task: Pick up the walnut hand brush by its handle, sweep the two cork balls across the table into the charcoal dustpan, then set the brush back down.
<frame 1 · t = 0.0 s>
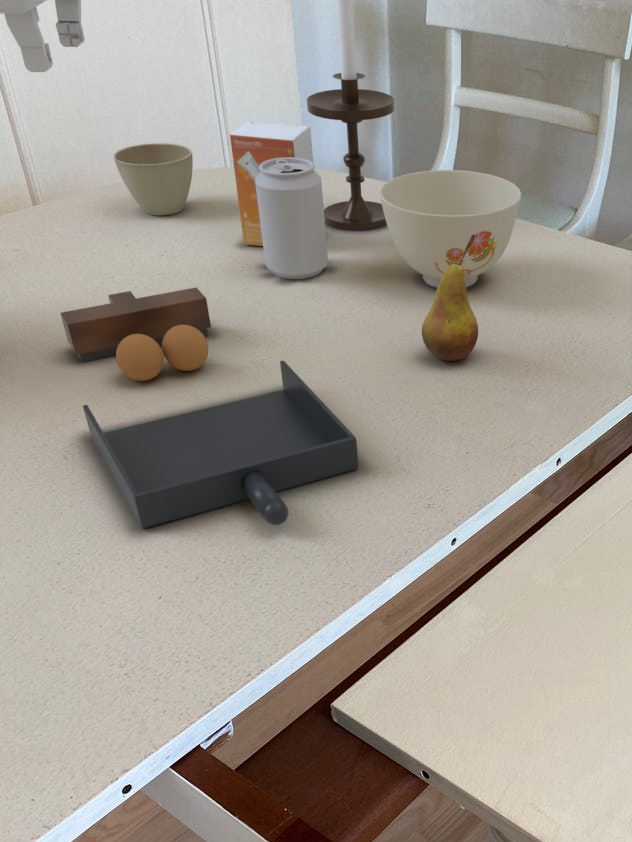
hand: (57, 57, 82), 27 cm above the table, tool pointing down, fingers open, 8 cm apart
fruit: (450, 358, 101), on the table
brush: (143, 344, 102), on the table
ball right: (185, 347, 96), point 2 cm above the table
dustpan: (221, 452, 86), on the table
candlestick: (357, 220, 131), on the table
bowl: (450, 281, 116), on the table
ball left: (140, 357, 95), point 2 cm above the table
small box: (282, 242, 125), on the table
flower pot: (163, 211, 132), on the table
can: (297, 271, 118), on the table
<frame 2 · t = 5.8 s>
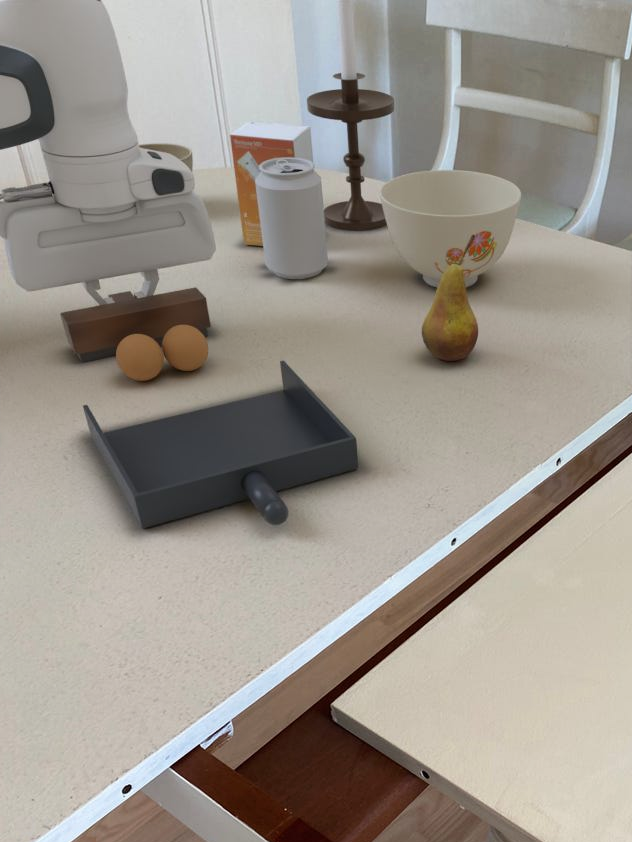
hand: (128, 314, 103), 2 cm above the table, tool pointing down, fingers closed on brush, 2 cm apart
brush: (142, 344, 102), on the table, touching gripper
everything else where it was.
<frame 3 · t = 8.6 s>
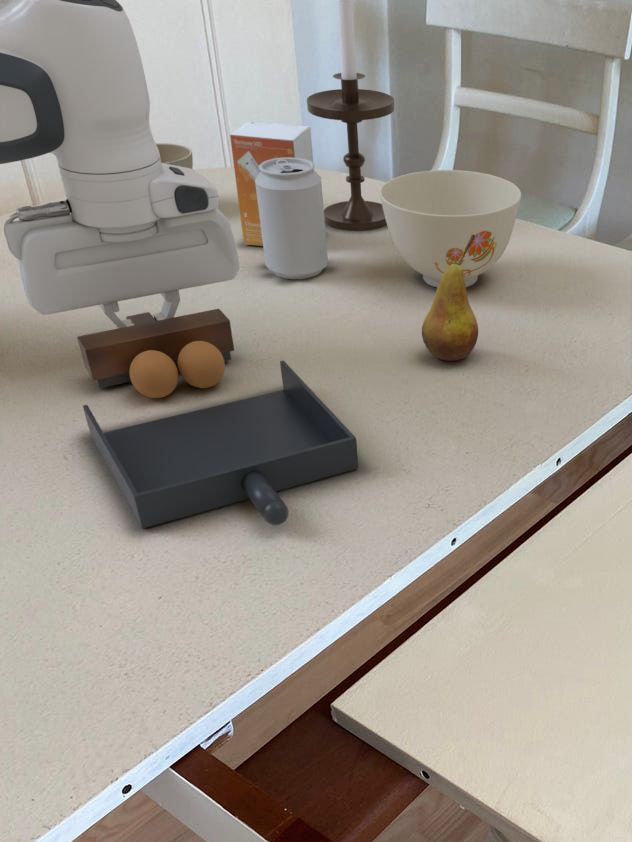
hand: (148, 336, 98), 2 cm above the table, tool pointing down, fingers closed on brush, 2 cm apart
brush: (163, 368, 97), on the table, touching gripper
ball right: (201, 364, 94), point 2 cm above the table, tilted 110°
ball left: (154, 374, 92), point 2 cm above the table, tilted 107°
everything else where it was.
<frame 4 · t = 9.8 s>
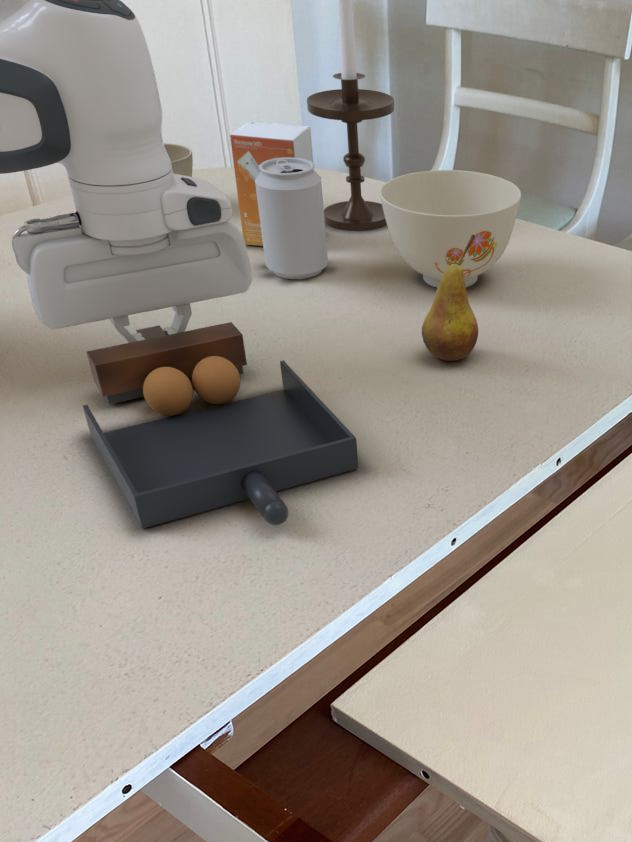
hand: (158, 350, 96), 2 cm above the table, tool pointing down, fingers closed on brush, 2 cm apart
brush: (174, 383, 95), on the table, touching gripper
ball right: (216, 380, 91), point 2 cm above the table, tilted 151°
ball left: (168, 391, 90), point 2 cm above the table, tilted 150°
everything else where it was.
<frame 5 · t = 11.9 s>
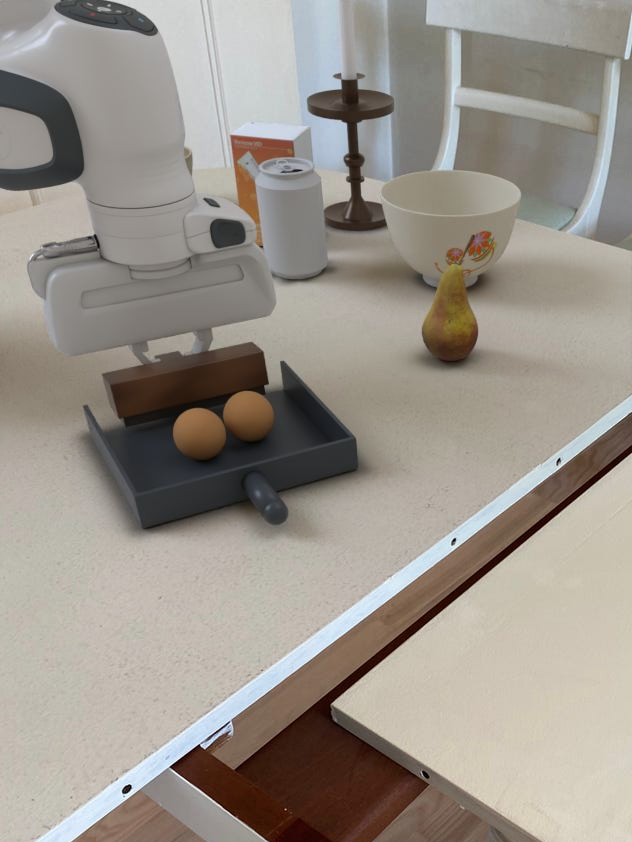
hand: (178, 376, 92), 2 cm above the table, tool pointing down, fingers closed on brush, 2 cm apart
brush: (193, 406, 90), point 1 cm above the table, tilted 6°, touching gripper
ball right: (248, 416, 86), point 2 cm above the table, tilted 64°, touching dustpan
ball left: (199, 434, 84), point 2 cm above the table, tilted 88°, touching dustpan
everything else where it was.
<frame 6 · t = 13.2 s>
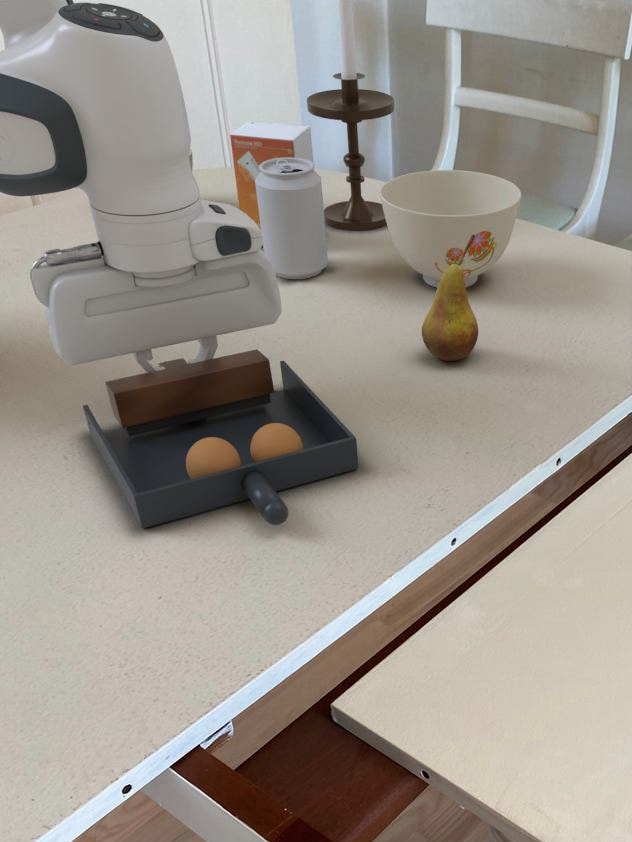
hand: (182, 384, 91), 2 cm above the table, tool pointing down, fingers closed on brush, 2 cm apart
brush: (198, 414, 89), point 1 cm above the table, tilted 6°, touching gripper
ball right: (276, 449, 82), point 2 cm above the table, tilted 129°, touching dustpan
ball left: (213, 464, 80), point 2 cm above the table, tilted 135°, touching dustpan
everything else where it was.
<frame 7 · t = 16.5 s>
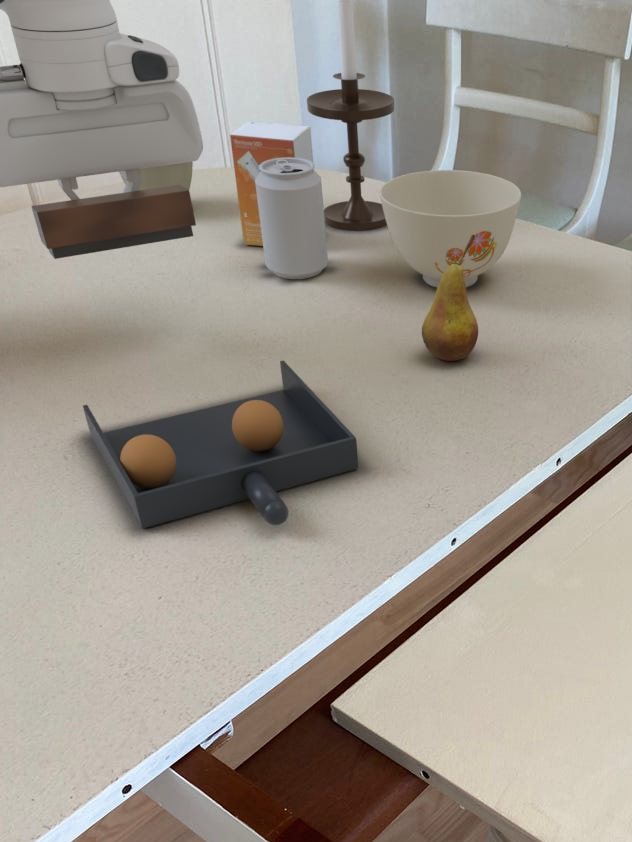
hand: (109, 220, 96), 12 cm above the table, tool pointing down, fingers closed on brush, 2 cm apart
brush: (122, 244, 94), point 11 cm above the table, tilted 6°, touching gripper
ball right: (257, 425, 85), point 2 cm above the table, tilted 114°, touching dustpan
ball left: (148, 461, 80), point 2 cm above the table, tilted 68°, touching dustpan
everything else where it was.
when the fingers open (2 cm above the table, at t = 19.0 s): brush stays where it is, on the table.
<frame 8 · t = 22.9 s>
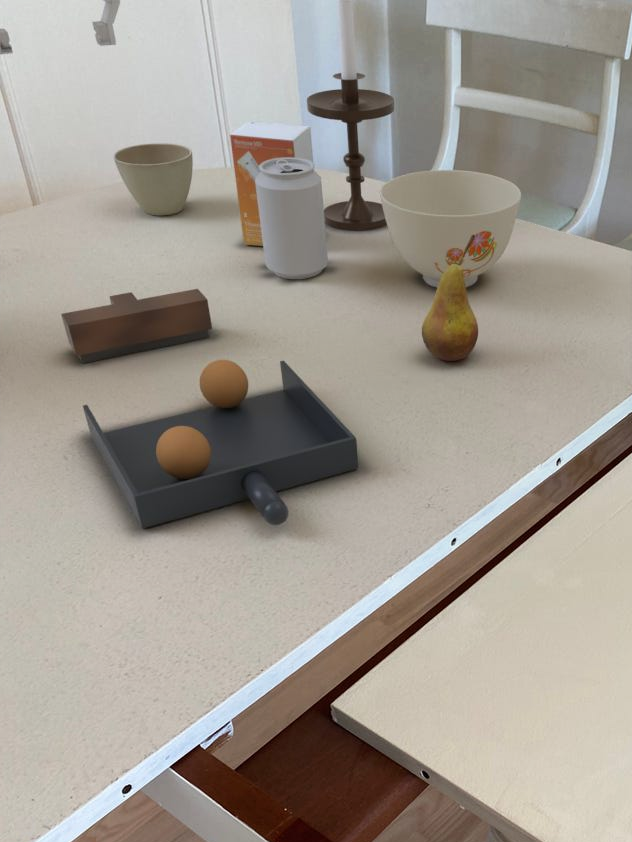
hand: (56, 48, 92), 25 cm above the table, tool pointing down, fingers open, 8 cm apart
brush: (144, 345, 101), on the table
ball right: (224, 384, 91), point 2 cm above the table, tilted 114°, touching dustpan
ball left: (183, 452, 81), point 2 cm above the table, tilted 143°, touching dustpan
everything else where it was.
at the end: ball left inside the target area in the dustpan (4.5 cm from its centre), point 2.4 cm above the dustpan's base; ball right inside the target area in the dustpan (8.2 cm from its centre), point 2.4 cm above the dustpan's base; the gripper is holding nothing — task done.
